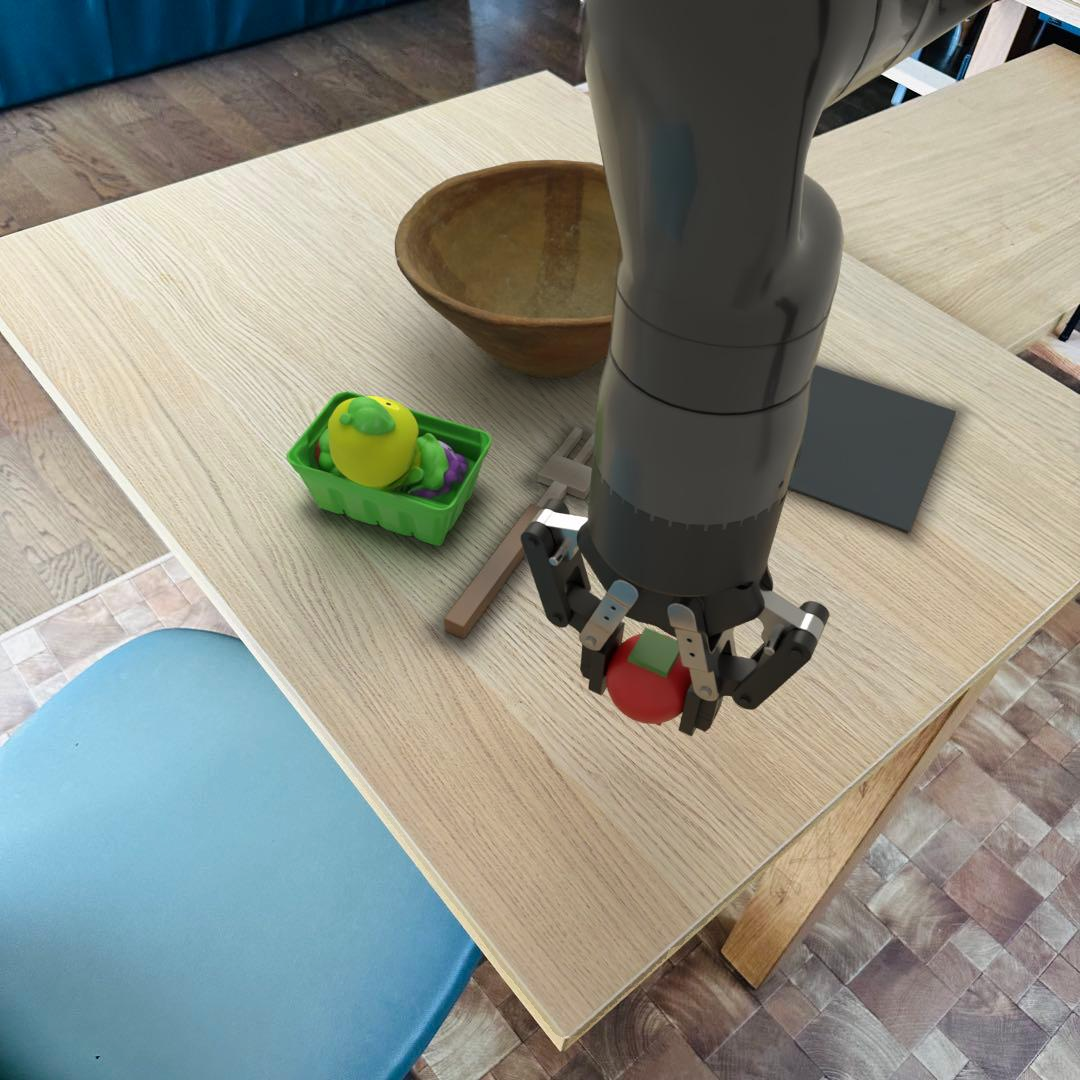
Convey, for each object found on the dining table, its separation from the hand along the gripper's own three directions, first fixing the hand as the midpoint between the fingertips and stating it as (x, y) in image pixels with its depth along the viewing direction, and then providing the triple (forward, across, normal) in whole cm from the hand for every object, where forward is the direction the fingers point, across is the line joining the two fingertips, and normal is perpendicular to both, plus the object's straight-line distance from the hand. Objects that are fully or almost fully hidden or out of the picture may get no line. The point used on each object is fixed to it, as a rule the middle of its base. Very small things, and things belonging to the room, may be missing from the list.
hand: (648, 699), depth 51 cm
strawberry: (0, 0, 0) cm, 0 cm away
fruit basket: (+7, -22, +10) cm, 25 cm away
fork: (+6, -13, +12) cm, 19 cm away
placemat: (+7, +1, +32) cm, 33 cm away
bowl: (+7, -21, +31) cm, 38 cm away
